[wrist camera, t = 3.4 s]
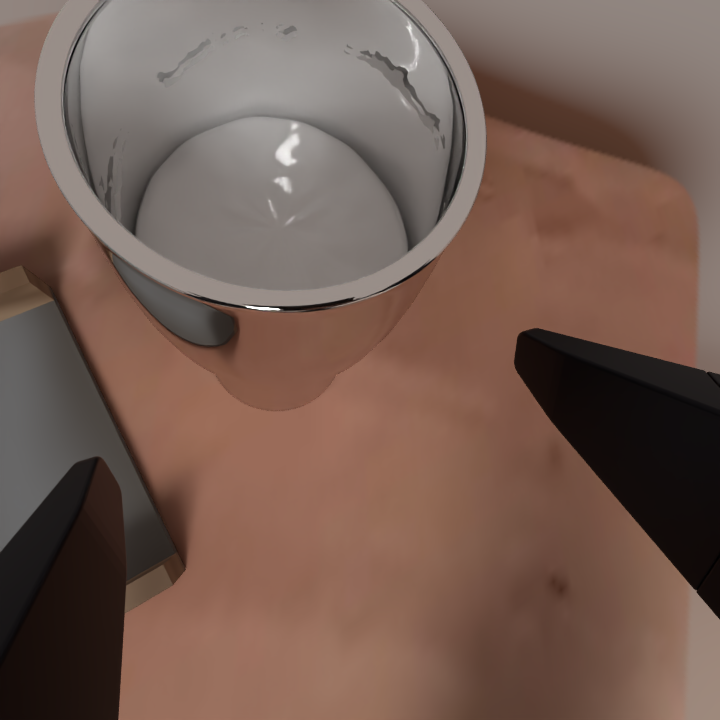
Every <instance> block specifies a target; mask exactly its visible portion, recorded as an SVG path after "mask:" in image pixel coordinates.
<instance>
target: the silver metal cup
mask: <svg viewBox="0 0 720 720" xmlns="http://www.w3.org/2000/svg"><path fill="white" fill-rule="evenodd" d="M34 103H35V117H36V125H37V130H38V135H39V139H40V143H41V146H42V150H43V153H44V156H45V158H46V161H47V164H48V167H49V169H50V171H51V173H52V175H53V178H54V180H55V181H56V183H57V185H58V187H59V189H60V191H61V192H62V194H63V196H64V197H65V199H66V200H67V202H68V203H69V205H70V206H71V208H72V209H73V210H74V212H75V213H76V214H77V216H78V217H79V218H80V219H81V221H82V222H83V223H84V224H85V225H86V226H87V228H88V229H89V231H90V233H91V234H92V236H93V238H94V240H95V241H96V243H97V245H98V246H99V248H100V250H101V252H102V253H103V255H104V257H105V258H106V260H107V262H108V263H109V265H110V266H111V268H112V269H113V271H114V273H115V274H116V276H117V277H118V279H119V280H120V282H121V284H122V285H123V287H124V288H125V290H126V291H127V293H128V294H129V295H130V297H131V298H132V299H133V300H134V302H135V303H136V304H137V306H138V307H139V308H140V310H141V311H142V312H143V313H144V315H145V316H146V317H147V319H148V320H149V321H150V322H151V323H152V325H153V326H154V327H155V328H156V329H157V330H158V331H159V332H160V333H161V334H162V335H163V336H164V337H165V338H166V339H167V340H168V341H169V342H170V343H172V344H173V345H174V346H175V347H176V348H177V349H178V350H179V351H180V352H181V353H183V354H184V355H185V356H186V357H188V358H189V359H190V360H192V361H193V362H194V363H196V364H197V365H199V366H200V367H202V368H204V369H206V370H207V371H209V372H211V373H213V374H215V375H216V377H217V379H218V381H219V382H220V384H221V385H222V386H223V387H224V388H225V390H226V391H227V392H228V393H229V394H231V395H232V396H233V397H234V398H236V399H237V400H239V401H240V402H242V403H244V404H246V405H248V406H251V407H253V408H257V409H260V410H266V411H286V410H291V409H295V408H299V407H301V406H304V405H306V404H308V403H310V402H311V401H313V400H315V399H316V398H317V397H319V396H320V395H321V394H322V393H323V392H324V391H325V390H326V389H327V388H328V387H329V386H330V384H331V383H332V382H333V380H334V378H335V376H336V375H337V374H339V373H341V372H343V371H345V370H347V369H348V368H350V367H352V366H353V365H355V364H356V363H358V362H359V361H360V360H362V359H363V358H364V357H365V356H366V355H367V354H368V353H370V352H371V351H372V350H373V349H374V348H375V347H376V346H377V345H378V344H379V343H380V342H381V341H382V340H383V339H384V338H385V337H386V336H387V335H388V334H389V333H390V332H391V331H392V330H393V328H394V327H395V326H396V325H397V323H398V322H399V321H400V319H401V318H402V317H403V315H404V314H405V313H406V311H407V310H408V309H409V308H410V306H411V305H412V303H413V302H414V301H415V299H416V297H417V296H418V294H419V293H420V291H421V289H422V288H423V286H424V284H425V283H426V281H427V280H428V278H429V276H430V275H431V273H432V271H433V270H434V268H435V266H436V264H437V263H438V261H439V259H440V257H441V255H442V254H443V252H444V250H445V249H446V248H447V247H448V245H449V244H450V243H451V242H452V240H453V239H454V238H455V236H456V235H457V234H458V232H459V231H460V229H461V228H462V226H463V225H464V223H465V221H466V219H467V218H468V216H469V214H470V212H471V210H472V208H473V205H474V203H475V200H476V198H477V195H478V192H479V189H480V186H481V182H482V178H483V174H484V168H485V161H486V149H487V134H486V122H485V115H484V109H483V105H482V100H481V97H480V93H479V90H478V86H477V84H476V81H475V78H474V75H473V73H472V71H471V68H470V66H469V64H468V62H467V60H466V58H465V56H464V54H463V52H462V51H461V49H460V47H459V45H458V44H457V42H456V41H455V39H454V38H453V36H452V35H451V33H450V32H449V31H448V29H447V28H446V27H445V25H444V24H443V23H442V22H441V20H440V19H439V18H438V17H437V16H436V14H435V13H434V12H432V10H431V9H430V8H429V7H428V6H427V5H426V4H425V3H424V2H423V1H422V0H68V1H67V2H66V4H65V5H64V6H63V8H62V9H61V11H60V12H59V14H58V15H57V17H56V19H55V21H54V22H53V24H52V26H51V28H50V30H49V32H48V35H47V37H46V40H45V42H44V45H43V48H42V51H41V55H40V58H39V62H38V67H37V72H36V80H35V91H34Z"/></svg>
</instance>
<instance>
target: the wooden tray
mask: <svg viewBox="0 0 720 720" xmlns="http://www.w3.org/2000/svg"><path fill="white" fill-rule="evenodd" d="M95 456H99V457H101V458H103V459H104V461H105V462H106V464H107V466H108V467H109V469H110V470H111V472H112V474H113V475H114V477H115V479H116V480H117V482H118V484H119V486H120V489H121V493H122V504H123V518H124V532H125V546H126V563H127V580H126V598H125V613H127V612H128V611H130V610H132V609H133V608H135V607H137V606H138V605H140V604H142V603H143V602H145V601H147V600H149V599H150V598H152V597H154V596H155V595H157V594H159V593H160V592H162V591H164V590H166V589H167V588H169V587H171V586H172V585H173V584H174V583H175V582H176V581H177V580H178V578H179V577H180V576H181V575H182V573H183V572H184V571H185V570H186V569H185V567H184V565H183V563H182V561H181V559H180V556H179V554H178V552H177V550H176V548H175V546H174V544H173V542H172V540H171V538H170V536H169V533H168V531H167V529H166V527H165V525H164V523H163V521H162V519H161V517H160V515H159V513H158V510H157V508H156V506H155V504H154V502H153V500H152V498H151V496H150V494H149V492H148V490H147V487H146V485H145V483H144V481H143V479H142V477H141V475H140V473H139V471H138V469H137V467H136V464H135V462H134V460H133V458H132V456H131V454H130V452H129V450H128V448H127V446H126V444H125V441H124V439H123V437H122V435H121V433H120V431H119V429H118V427H117V425H116V423H115V421H114V418H113V416H112V414H111V412H110V410H109V408H108V406H107V404H106V402H105V400H104V398H103V395H102V393H101V391H100V389H99V387H98V385H97V383H96V381H95V379H94V377H93V375H92V372H91V370H90V368H89V366H88V364H87V362H86V360H85V358H84V356H83V354H82V352H81V349H80V347H79V345H78V343H77V341H76V339H75V337H74V335H73V333H72V331H71V329H70V326H69V324H68V322H67V320H66V318H65V316H64V314H63V312H62V310H61V308H60V306H59V303H58V301H57V299H56V297H55V295H54V293H53V291H52V289H51V287H49V286H48V285H47V284H46V283H44V282H43V281H42V280H40V279H39V278H38V277H36V276H35V275H34V274H32V273H31V272H30V271H29V270H27V269H26V268H25V267H23V266H22V265H20V266H17V267H14V268H12V269H9V270H6V271H4V272H1V273H0V552H1V551H2V549H3V548H4V547H5V546H6V545H7V543H8V542H9V541H10V540H11V539H12V537H13V536H14V535H15V534H16V533H17V531H18V530H19V529H20V528H21V527H22V525H23V524H24V523H25V522H26V521H27V519H28V518H29V517H30V516H31V515H32V513H33V512H34V511H35V510H36V509H37V507H38V506H39V505H40V504H41V503H42V501H43V500H44V499H45V498H46V497H47V495H48V494H49V493H50V492H51V491H52V489H53V488H54V487H55V486H56V485H57V483H58V482H59V481H60V480H61V479H62V477H63V476H64V475H65V474H66V473H67V471H68V470H69V469H70V468H71V467H72V466H73V465H74V464H75V463H76V462H78V461H81V460H85V459H88V458H91V457H95Z"/></svg>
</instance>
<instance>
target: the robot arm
mask: <svg viewBox="0 0 720 720" xmlns="http://www.w3.org/2000/svg"><path fill="white" fill-rule="evenodd" d="M514 365H515V368H516V371H517V373H518V374H519V375H520V377H521V378H522V380H523V381H524V383H525V384H526V386H527V387H528V389H529V390H530V392H531V393H532V394H533V396H534V397H535V399H536V400H537V402H538V403H539V405H540V406H541V408H542V409H543V410H544V412H545V413H546V415H547V416H548V417H549V419H550V420H551V421H552V423H553V424H554V425H555V426H556V428H557V429H558V430H559V431H560V432H561V434H562V435H563V436H564V437H565V438H566V439H567V441H568V442H569V443H570V444H571V445H572V446H573V448H574V449H575V450H576V451H577V452H578V454H579V455H580V456H581V457H582V458H583V459H584V461H585V462H586V463H587V464H588V465H589V466H590V468H591V469H592V470H593V471H594V472H595V473H596V475H597V476H598V477H599V478H600V479H601V480H602V482H603V483H604V484H605V485H606V486H607V488H608V489H609V490H610V491H611V492H612V493H613V495H614V496H615V497H616V498H617V499H618V500H619V502H620V503H621V504H622V505H623V506H624V507H625V509H626V510H627V511H628V512H629V513H630V514H631V516H632V517H633V518H634V519H635V520H636V522H637V523H638V524H639V525H640V526H641V527H642V529H643V530H644V531H645V532H646V533H647V534H648V536H649V537H650V538H651V539H652V540H653V541H654V543H655V544H656V545H657V546H658V547H659V548H660V550H661V551H662V552H663V553H664V554H665V556H666V557H667V558H668V559H669V560H670V561H671V563H672V564H673V565H674V566H675V567H676V568H677V570H678V571H679V572H680V573H681V574H682V575H683V577H684V578H685V579H686V580H687V581H688V582H689V584H690V585H691V586H692V587H693V588H694V589H695V590H697V593H698V595H699V596H700V597H701V598H702V599H703V600H704V602H705V603H706V604H707V605H708V606H709V607H710V609H711V610H712V611H713V612H714V613H715V615H716V616H717V617H718V618H719V619H720V374H715V373H712V372H707V373H706V372H705V371H704V370H700V369H696V368H692V367H688V366H684V365H680V364H676V363H673V362H669V361H665V360H661V359H657V358H653V357H649V356H645V355H641V354H637V353H633V352H629V351H625V350H622V349H618V348H614V347H610V346H606V345H602V344H598V343H594V342H590V341H586V340H582V339H578V338H574V337H570V336H567V335H563V334H559V333H555V332H551V331H547V330H543V329H539V328H533V329H530V330H526V331H523V332H521V333H520V334H519V335H518V338H517V344H516V351H515V358H514ZM126 580H127V563H126V546H125V532H124V518H123V504H122V493H121V489H120V486H119V484H118V482H117V480H116V479H115V477H114V475H113V474H112V472H111V470H110V469H109V467H108V466H107V464H106V462H105V461H104V459H103V458H101V457H99V456H95V457H91V458H88V459H85V460H81V461H78V462H76V463H75V464H74V465H73V466H72V467H71V468H70V469H69V470H68V471H67V473H66V474H65V475H64V476H63V477H62V479H61V480H60V481H59V482H58V483H57V485H56V486H55V487H54V488H53V489H52V491H51V492H50V493H49V494H48V495H47V497H46V498H45V499H44V500H43V501H42V503H41V504H40V505H39V506H38V507H37V509H36V510H35V511H34V512H33V513H32V515H31V516H30V517H29V518H28V519H27V521H26V522H25V523H24V524H23V525H22V527H21V528H20V529H19V530H18V531H17V533H16V534H15V535H14V536H13V537H12V539H11V540H10V541H9V542H8V543H7V545H6V546H5V547H4V548H3V549H2V551H1V552H0V720H118V716H119V699H120V683H121V666H122V649H123V632H124V615H125V598H126Z"/></svg>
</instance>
